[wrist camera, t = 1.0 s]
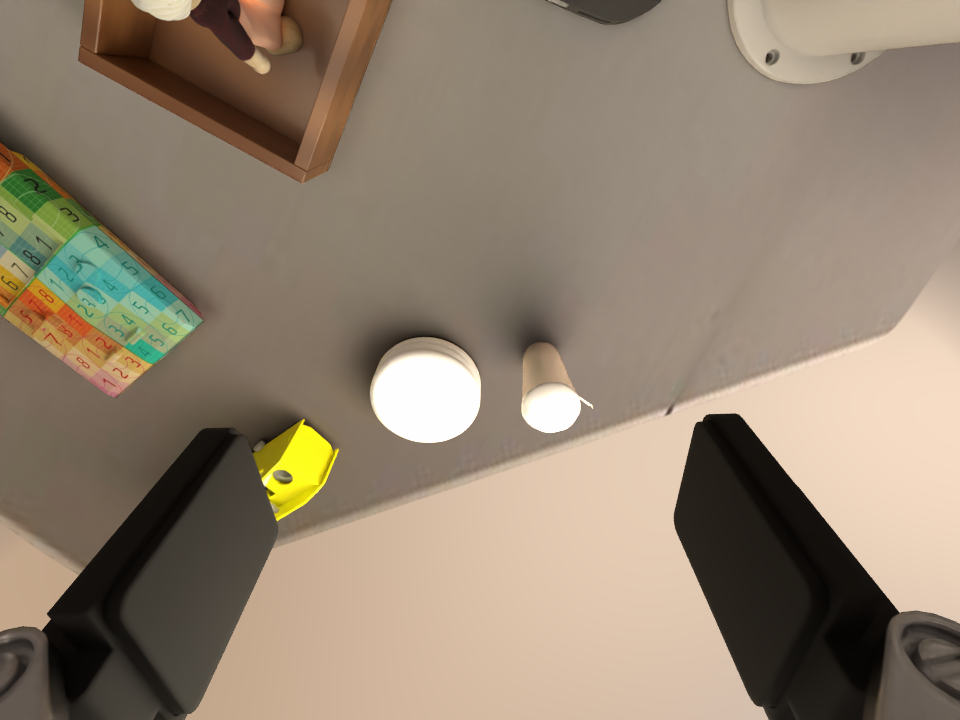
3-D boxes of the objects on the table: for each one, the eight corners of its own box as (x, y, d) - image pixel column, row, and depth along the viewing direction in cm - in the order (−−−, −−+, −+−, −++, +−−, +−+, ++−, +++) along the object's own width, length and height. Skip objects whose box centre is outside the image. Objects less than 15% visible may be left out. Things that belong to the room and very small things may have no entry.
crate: (185, -211, 26) (114, -280, 21) (411, -50, 29) (395, -78, 24) (139, 65, 32) (77, 61, 27) (327, 171, 36) (302, 184, 31)
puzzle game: (108, 403, 41) (-148, 217, 33) (142, 375, 45) (-79, 204, 37) (189, 333, 37) (-77, 105, 30) (219, 309, 42) (-9, 103, 34)
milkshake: (581, 360, 43) (604, 428, 35) (530, 384, 45) (540, 455, 36) (560, 322, 42) (579, 383, 33) (507, 348, 43) (512, 414, 34)
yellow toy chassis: (302, 410, 47) (268, 469, 40) (343, 446, 49) (317, 507, 42) (203, 479, 52) (157, 542, 45) (244, 508, 54) (206, 573, 47)
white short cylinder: (386, 322, 42) (378, 340, 39) (493, 349, 43) (493, 369, 40) (369, 409, 47) (360, 432, 44) (465, 432, 48) (464, 455, 45)
